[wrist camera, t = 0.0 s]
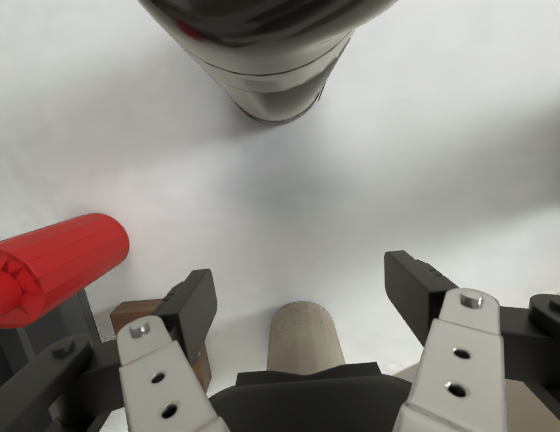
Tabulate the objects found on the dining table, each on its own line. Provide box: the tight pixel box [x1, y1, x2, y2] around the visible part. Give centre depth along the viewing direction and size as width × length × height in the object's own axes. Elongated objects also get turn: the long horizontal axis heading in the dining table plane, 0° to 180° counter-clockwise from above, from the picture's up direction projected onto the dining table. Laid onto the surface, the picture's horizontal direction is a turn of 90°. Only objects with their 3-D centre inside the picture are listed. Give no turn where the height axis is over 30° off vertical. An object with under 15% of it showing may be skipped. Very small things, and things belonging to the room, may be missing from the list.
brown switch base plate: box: [110, 299, 211, 394], centre depth 32 cm, size 12×10×3 cm
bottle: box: [0, 213, 129, 329], centre depth 22 cm, size 7×7×17 cm
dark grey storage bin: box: [0, 288, 101, 432], centre depth 30 cm, size 16×13×8 cm
